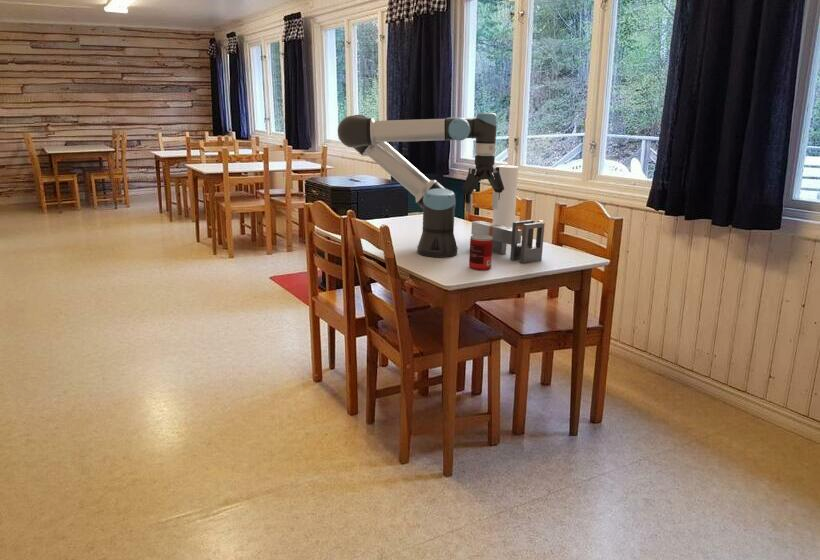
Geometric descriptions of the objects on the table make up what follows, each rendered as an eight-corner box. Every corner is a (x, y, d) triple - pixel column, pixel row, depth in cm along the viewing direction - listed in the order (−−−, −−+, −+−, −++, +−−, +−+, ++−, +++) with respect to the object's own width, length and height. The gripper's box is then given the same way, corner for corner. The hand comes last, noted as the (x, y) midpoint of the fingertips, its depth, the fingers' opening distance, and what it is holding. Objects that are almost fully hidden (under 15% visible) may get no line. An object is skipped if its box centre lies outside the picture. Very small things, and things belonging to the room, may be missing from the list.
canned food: (489, 265, 217) (491, 234, 214) (492, 271, 210) (494, 239, 207) (467, 264, 217) (469, 234, 214) (470, 270, 209) (472, 238, 206)
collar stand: (523, 263, 220) (526, 225, 216) (510, 260, 225) (512, 222, 222) (545, 259, 227) (549, 222, 223) (532, 256, 232) (535, 219, 228)
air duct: (471, 234, 244) (471, 221, 243) (480, 233, 247) (481, 220, 246) (510, 244, 227) (511, 231, 226) (520, 243, 230) (521, 230, 229)
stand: (501, 254, 234) (502, 241, 232) (481, 248, 242) (482, 236, 241) (505, 253, 235) (506, 240, 234) (486, 248, 244) (486, 235, 242)
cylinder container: (515, 237, 266) (520, 166, 258) (493, 236, 266) (497, 165, 258) (512, 232, 275) (516, 164, 267) (490, 232, 275) (495, 163, 267)
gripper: (466, 156, 225) (464, 214, 231) (515, 154, 239) (511, 209, 245) (453, 154, 231) (451, 211, 237) (501, 153, 245) (498, 206, 251)
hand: (482, 210), depth 241 cm, fingers open, 13 cm apart
